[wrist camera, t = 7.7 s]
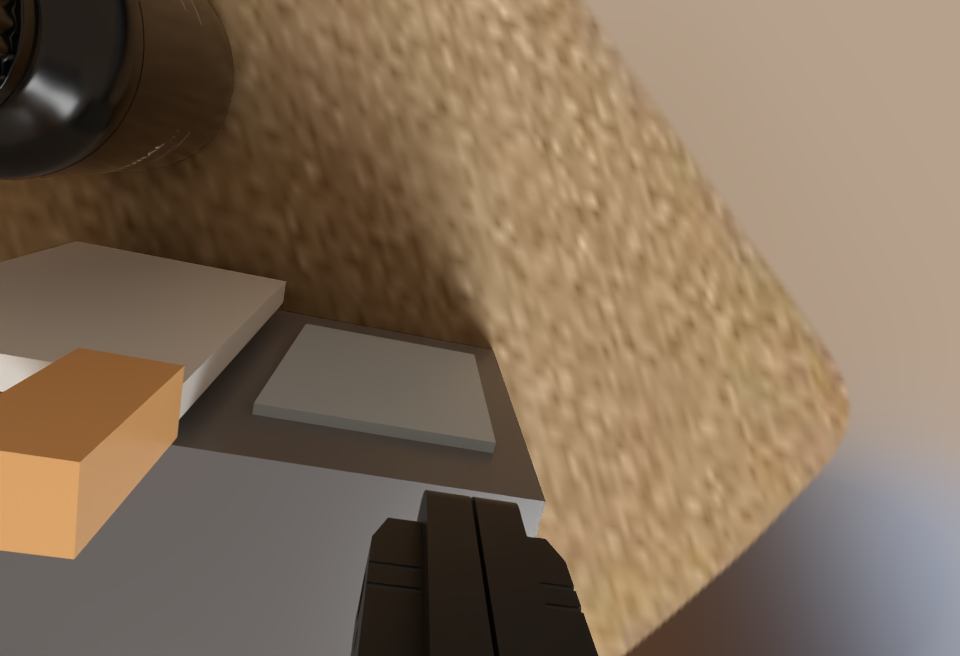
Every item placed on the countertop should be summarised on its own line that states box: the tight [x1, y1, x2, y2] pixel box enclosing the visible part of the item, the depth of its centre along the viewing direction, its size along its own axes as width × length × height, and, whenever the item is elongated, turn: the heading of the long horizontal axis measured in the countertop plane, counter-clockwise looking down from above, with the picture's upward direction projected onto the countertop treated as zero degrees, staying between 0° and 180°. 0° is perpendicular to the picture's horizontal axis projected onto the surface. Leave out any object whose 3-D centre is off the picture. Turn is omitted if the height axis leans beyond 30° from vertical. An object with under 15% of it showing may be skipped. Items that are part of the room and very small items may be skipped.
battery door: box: [0, 241, 286, 559], centre depth 15 cm, size 2×7×14 cm, turn 78°
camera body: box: [0, 310, 546, 656], centre depth 19 cm, size 10×17×12 cm, turn 77°
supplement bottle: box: [0, 0, 234, 180], centre depth 15 cm, size 7×7×12 cm
